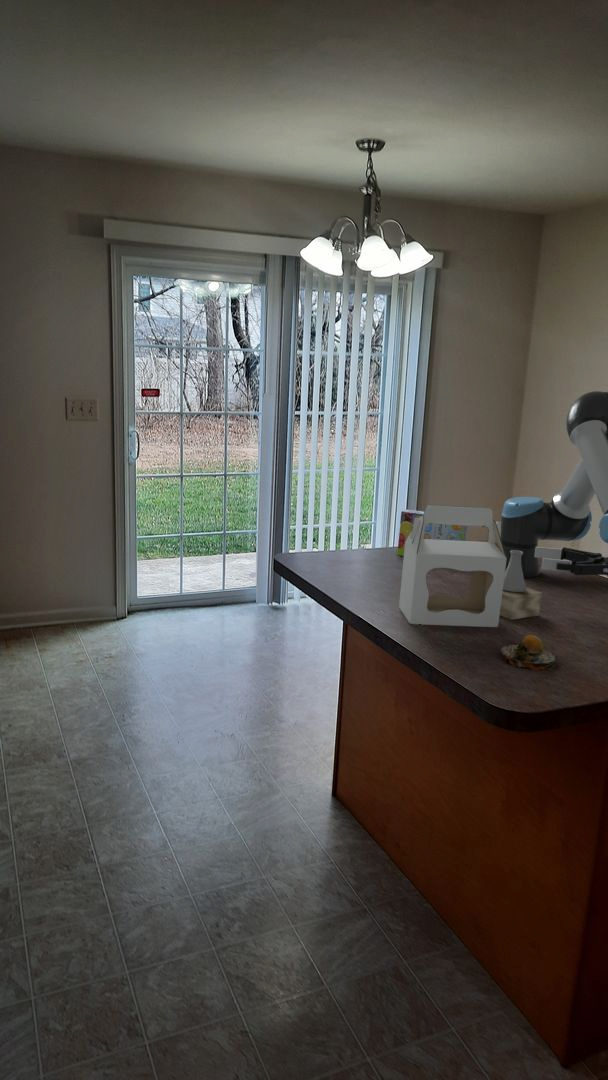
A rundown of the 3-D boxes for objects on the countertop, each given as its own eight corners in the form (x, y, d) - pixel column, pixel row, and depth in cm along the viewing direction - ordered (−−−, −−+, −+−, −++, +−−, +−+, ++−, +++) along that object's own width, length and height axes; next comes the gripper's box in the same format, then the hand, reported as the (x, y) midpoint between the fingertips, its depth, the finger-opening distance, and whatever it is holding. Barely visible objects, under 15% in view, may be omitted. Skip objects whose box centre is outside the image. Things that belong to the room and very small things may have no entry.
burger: (545, 652, 172) (549, 620, 171) (564, 673, 161) (569, 638, 159) (491, 649, 172) (495, 617, 170) (507, 670, 160) (511, 635, 159)
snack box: (463, 562, 252) (468, 516, 249) (459, 565, 247) (464, 519, 244) (401, 552, 260) (405, 508, 257) (396, 555, 255) (400, 510, 252)
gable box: (482, 611, 200) (495, 504, 194) (499, 627, 187) (513, 513, 181) (397, 607, 198) (408, 499, 192) (408, 624, 185) (420, 509, 179)
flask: (527, 594, 195) (532, 556, 193) (497, 591, 196) (502, 552, 194) (525, 587, 202) (530, 550, 200) (497, 584, 203) (501, 547, 201)
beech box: (509, 603, 207) (512, 582, 206) (539, 615, 199) (542, 593, 198) (481, 607, 202) (484, 585, 201) (511, 619, 193) (513, 596, 192)
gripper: (636, 593, 182) (543, 584, 185) (612, 568, 206) (530, 560, 209) (641, 562, 180) (547, 553, 183) (617, 541, 204) (534, 533, 208)
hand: (538, 557), depth 196 cm, fingers open, 13 cm apart
